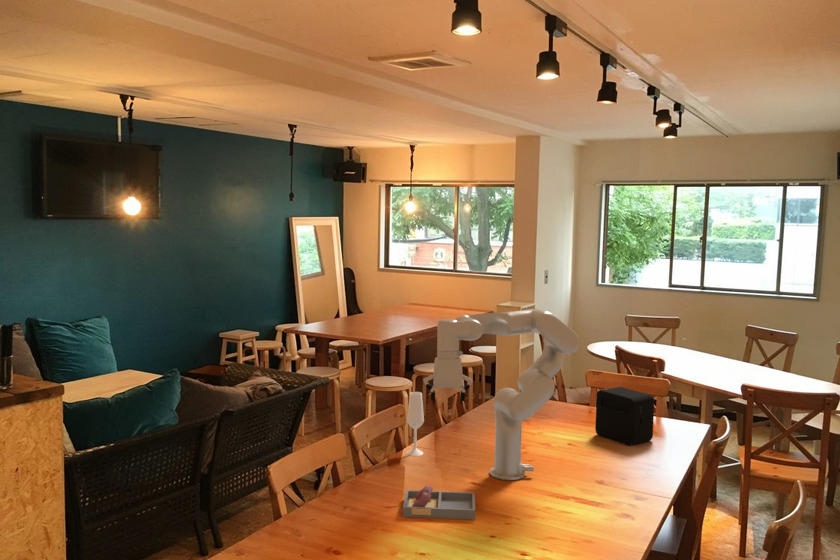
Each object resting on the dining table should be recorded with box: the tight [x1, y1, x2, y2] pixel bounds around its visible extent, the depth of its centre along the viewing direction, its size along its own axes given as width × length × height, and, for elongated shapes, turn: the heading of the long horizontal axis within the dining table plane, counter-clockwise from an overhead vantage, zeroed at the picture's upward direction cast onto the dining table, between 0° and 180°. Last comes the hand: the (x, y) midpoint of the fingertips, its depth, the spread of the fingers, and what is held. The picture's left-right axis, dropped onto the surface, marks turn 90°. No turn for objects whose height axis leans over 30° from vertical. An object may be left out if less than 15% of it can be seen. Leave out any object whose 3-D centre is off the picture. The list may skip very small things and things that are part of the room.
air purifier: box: [595, 386, 655, 447], centre depth 301 cm, size 20×15×20 cm
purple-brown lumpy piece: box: [412, 485, 434, 507], centre depth 225 cm, size 10×5×7 cm, turn 174°
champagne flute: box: [406, 391, 425, 457], centre depth 277 cm, size 7×7×24 cm
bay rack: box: [402, 489, 476, 521], centre depth 225 cm, size 22×14×3 cm, turn 86°
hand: (447, 402), depth 247 cm, fingers open, 9 cm apart
